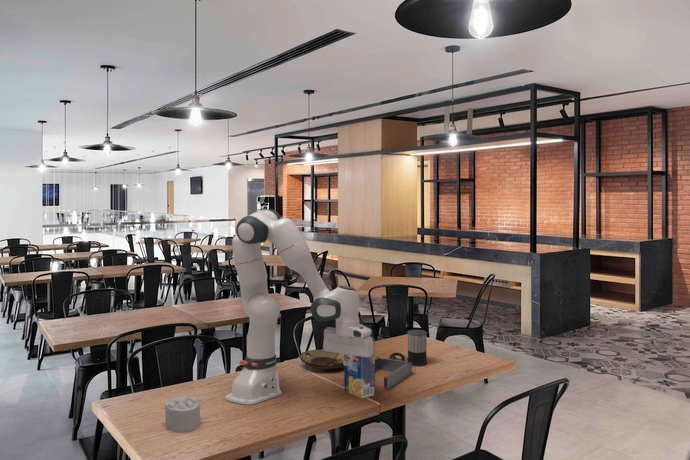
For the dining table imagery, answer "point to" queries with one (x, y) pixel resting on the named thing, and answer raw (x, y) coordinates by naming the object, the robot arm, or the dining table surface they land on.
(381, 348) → the dining table surface
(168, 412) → the lumpy-topped squat cylinder
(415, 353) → the milk frother
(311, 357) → the olive brown plate
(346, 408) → the dining table surface
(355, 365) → the beverage box
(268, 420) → the dining table surface
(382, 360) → the angle bracket
